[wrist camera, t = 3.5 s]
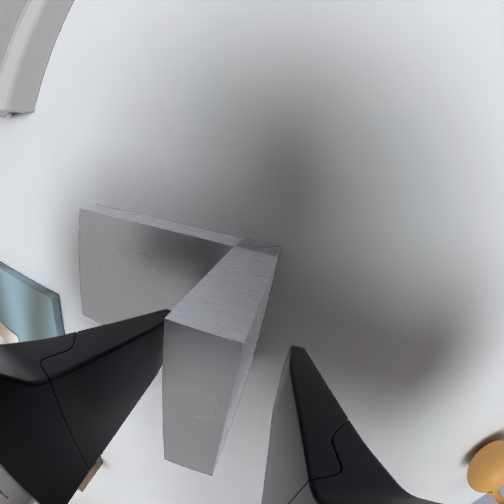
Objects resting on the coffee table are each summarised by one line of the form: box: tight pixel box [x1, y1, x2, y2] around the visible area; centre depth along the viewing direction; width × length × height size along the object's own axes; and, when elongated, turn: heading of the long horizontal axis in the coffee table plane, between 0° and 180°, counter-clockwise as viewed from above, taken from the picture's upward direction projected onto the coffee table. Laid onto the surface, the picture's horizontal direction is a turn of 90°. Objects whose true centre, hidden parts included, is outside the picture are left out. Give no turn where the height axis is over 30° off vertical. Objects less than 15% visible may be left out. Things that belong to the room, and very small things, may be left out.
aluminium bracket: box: [79, 204, 281, 476], centre depth 9 cm, size 8×5×6 cm, turn 79°
